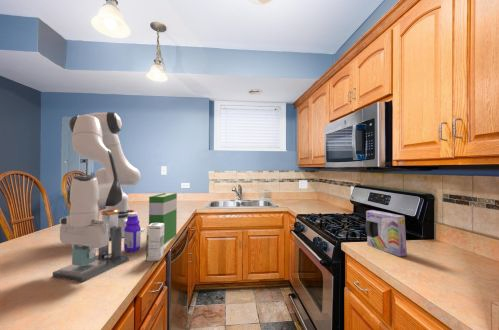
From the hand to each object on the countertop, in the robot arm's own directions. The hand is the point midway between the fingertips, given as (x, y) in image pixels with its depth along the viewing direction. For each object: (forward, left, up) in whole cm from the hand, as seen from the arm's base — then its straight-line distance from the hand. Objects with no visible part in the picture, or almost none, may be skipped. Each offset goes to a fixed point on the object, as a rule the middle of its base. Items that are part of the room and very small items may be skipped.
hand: (84, 256), depth 87 cm
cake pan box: (-61, +112, -6) cm, 128 cm away
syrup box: (-19, +16, -6) cm, 25 cm away
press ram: (-11, 0, +3) cm, 11 cm away
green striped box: (-42, +2, -6) cm, 43 cm away
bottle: (-24, -1, -6) cm, 25 cm away
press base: (-4, 0, -6) cm, 7 cm away
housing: (0, 0, -2) cm, 2 cm away
